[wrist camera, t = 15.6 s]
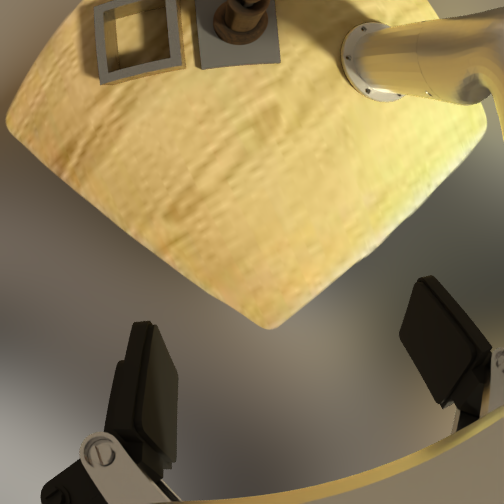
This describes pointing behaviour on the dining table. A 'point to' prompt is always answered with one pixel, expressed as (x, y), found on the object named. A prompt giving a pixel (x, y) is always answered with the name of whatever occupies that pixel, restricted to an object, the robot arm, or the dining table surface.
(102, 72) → the open square box
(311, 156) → the dining table surface
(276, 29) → the coaster
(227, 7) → the wooden pepper mill
